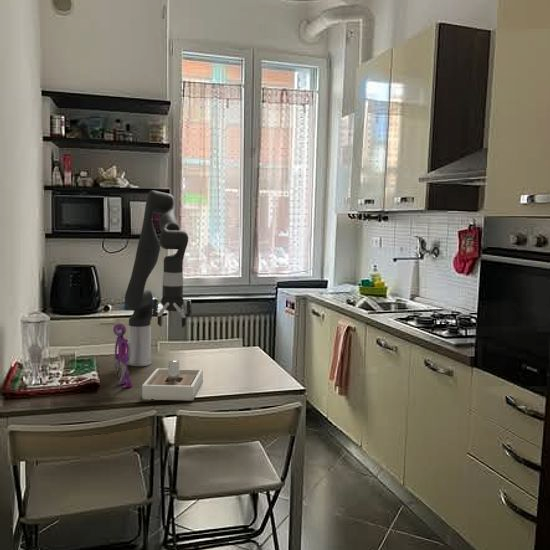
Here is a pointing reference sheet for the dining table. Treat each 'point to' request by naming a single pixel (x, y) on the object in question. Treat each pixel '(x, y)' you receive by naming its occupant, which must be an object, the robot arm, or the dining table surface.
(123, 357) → the toy
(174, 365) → the peg
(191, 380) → the bore plate
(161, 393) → the box
